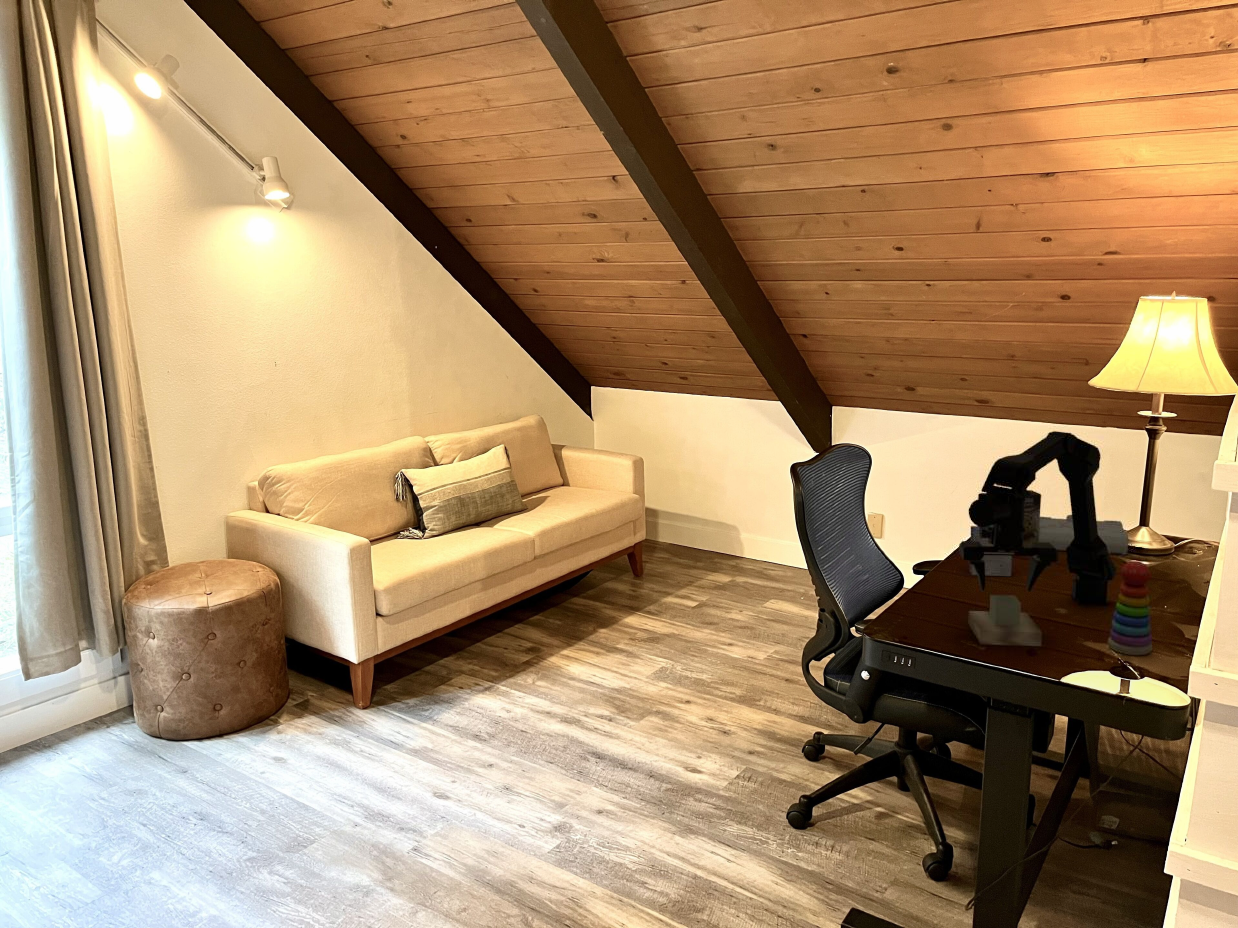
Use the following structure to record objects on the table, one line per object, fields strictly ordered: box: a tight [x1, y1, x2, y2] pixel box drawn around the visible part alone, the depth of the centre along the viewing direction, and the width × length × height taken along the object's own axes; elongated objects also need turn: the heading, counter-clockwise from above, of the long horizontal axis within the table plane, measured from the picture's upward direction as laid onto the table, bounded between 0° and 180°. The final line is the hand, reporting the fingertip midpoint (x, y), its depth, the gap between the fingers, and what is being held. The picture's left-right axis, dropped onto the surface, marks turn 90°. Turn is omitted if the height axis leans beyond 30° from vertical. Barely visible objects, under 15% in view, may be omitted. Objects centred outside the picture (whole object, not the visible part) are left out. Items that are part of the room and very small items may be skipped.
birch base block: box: [968, 610, 1043, 647], centre depth 196 cm, size 12×12×3 cm
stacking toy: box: [1107, 560, 1153, 656], centre depth 185 cm, size 8×8×19 cm
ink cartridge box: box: [969, 525, 1013, 577], centre depth 237 cm, size 10×6×14 cm, turn 78°
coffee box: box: [1023, 489, 1042, 547], centre depth 259 cm, size 9×6×16 cm
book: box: [1038, 514, 1130, 556], centre depth 260 cm, size 19×28×8 cm
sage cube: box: [989, 594, 1022, 626], centre depth 195 cm, size 5×5×5 cm
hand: (1005, 590), depth 195 cm, fingers open, 9 cm apart
